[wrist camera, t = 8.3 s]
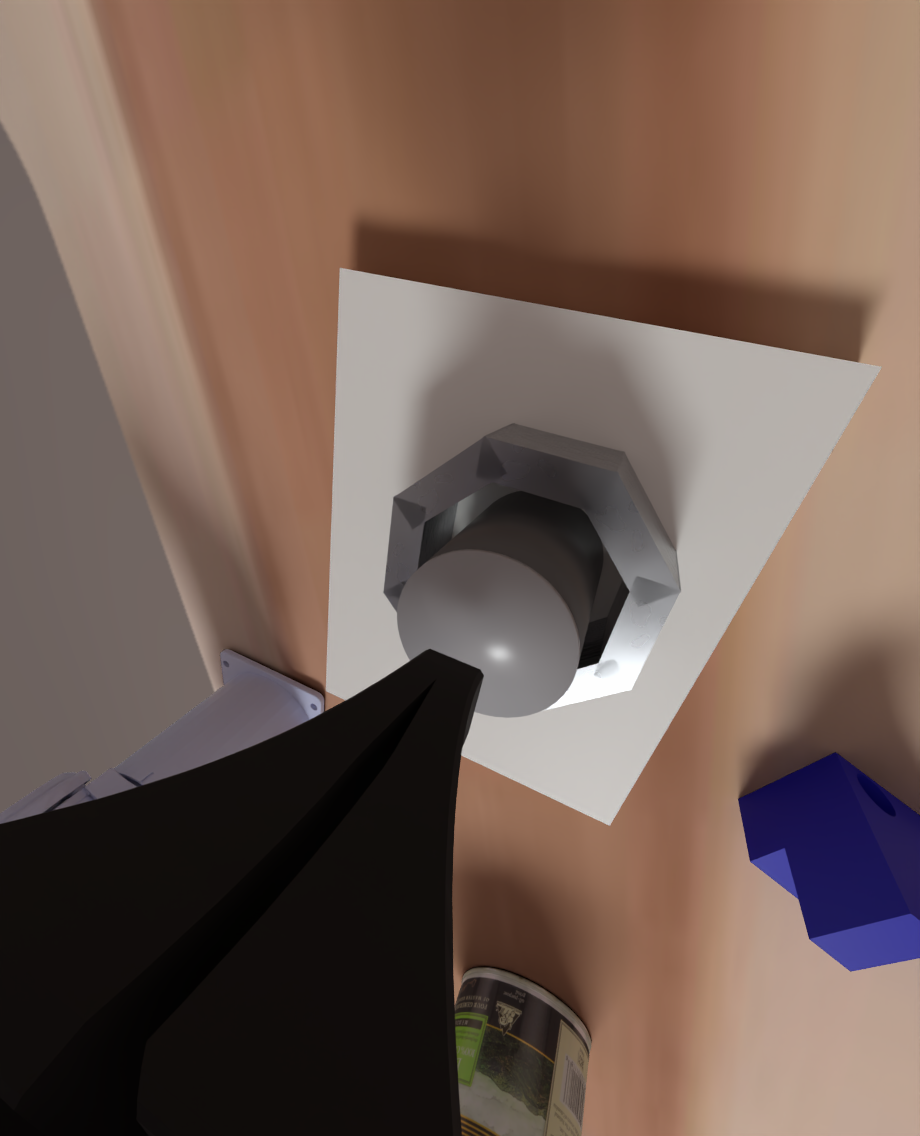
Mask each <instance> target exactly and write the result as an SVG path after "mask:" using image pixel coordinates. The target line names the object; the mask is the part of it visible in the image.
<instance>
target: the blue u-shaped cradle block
mask: <svg viewBox="0 0 920 1136" xmlns="http://www.w3.org/2000/svg"><path fill="white" fill-rule="evenodd" d="M738 801H739V806H740V812H741V817H742V822H743V827H744V832H745V837H746V843H747V848H748V853H749V858H750V862H751V863H753V864H754V865H755V866H757V867H758V868H759V869H760V870H762V871H763V872H764V873H766V874H767V875H768V876H769V877H771V878H772V879H773V880H775V881H776V882H777V883H778V884H780V885H781V886H782V887H783V888H785V889H786V890H787V891H789V892H790V893H791V894H792V895H794V896H795V897H796V898H798V899H799V903H800V906H801V910H802V914H803V917H804V921H805V925H806V929H807V932H808V936H809V939H810V940H811V941H812V942H814V943H815V944H816V945H817V946H819V947H820V948H821V949H823V950H824V951H825V952H826V953H828V954H829V955H830V956H831V957H833V958H834V959H835V960H837V961H838V962H839V963H840V964H842V965H843V966H844V967H845V968H847V969H848V970H849V971H856V970H861V969H866V968H871V967H876V966H881V965H886V964H891V963H897V962H902V961H907V960H912V959H917V958H920V815H919V814H917V813H916V812H915V811H913V810H912V809H911V808H909V807H908V806H907V805H905V804H904V803H903V802H901V801H900V800H899V799H897V798H896V797H895V796H893V795H892V794H891V793H889V792H888V791H887V790H885V789H884V788H883V787H881V786H880V785H879V784H877V783H876V782H875V781H873V780H872V779H871V778H869V777H868V776H867V775H865V774H864V773H863V772H861V771H860V770H859V769H857V768H856V767H855V766H853V765H852V764H851V763H849V762H848V761H847V760H845V759H844V758H843V757H841V756H840V755H839V754H837V753H836V752H835V753H833V754H831V755H829V756H827V757H824V758H822V759H820V760H818V761H816V762H814V763H812V764H810V765H808V766H806V767H804V768H802V769H799V770H797V771H795V772H793V773H791V774H789V775H787V776H785V777H783V778H781V779H779V780H777V781H775V782H772V783H770V784H768V785H766V786H764V787H762V788H760V789H758V790H756V791H754V792H752V793H750V794H747V795H745V796H743V797H741V798H739V799H738Z"/></svg>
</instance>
